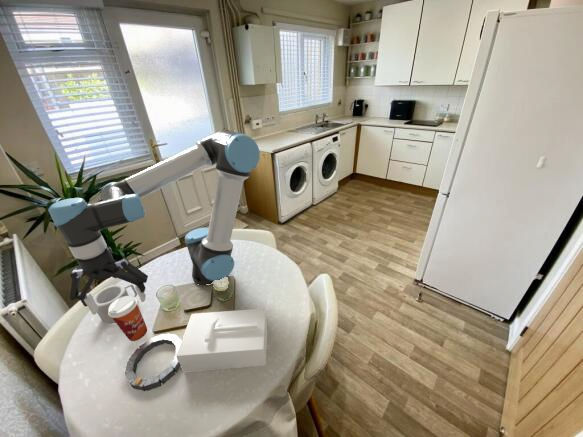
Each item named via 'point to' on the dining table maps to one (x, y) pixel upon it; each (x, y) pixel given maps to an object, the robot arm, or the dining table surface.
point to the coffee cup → (128, 317)
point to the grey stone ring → (138, 355)
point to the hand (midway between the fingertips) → (120, 304)
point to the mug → (110, 300)
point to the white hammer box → (224, 340)
